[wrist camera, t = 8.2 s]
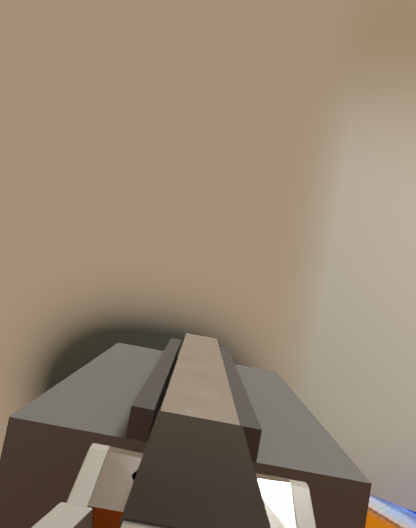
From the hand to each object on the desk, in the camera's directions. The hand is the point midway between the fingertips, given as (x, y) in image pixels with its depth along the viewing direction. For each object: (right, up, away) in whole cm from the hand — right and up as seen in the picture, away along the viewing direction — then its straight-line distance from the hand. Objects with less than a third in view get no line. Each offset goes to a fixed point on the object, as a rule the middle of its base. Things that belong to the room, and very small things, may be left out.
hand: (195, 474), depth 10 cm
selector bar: (0, -2, +10) cm, 10 cm away
